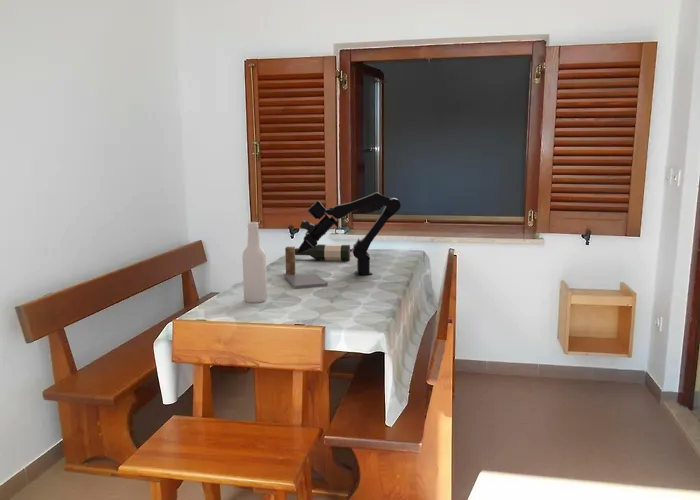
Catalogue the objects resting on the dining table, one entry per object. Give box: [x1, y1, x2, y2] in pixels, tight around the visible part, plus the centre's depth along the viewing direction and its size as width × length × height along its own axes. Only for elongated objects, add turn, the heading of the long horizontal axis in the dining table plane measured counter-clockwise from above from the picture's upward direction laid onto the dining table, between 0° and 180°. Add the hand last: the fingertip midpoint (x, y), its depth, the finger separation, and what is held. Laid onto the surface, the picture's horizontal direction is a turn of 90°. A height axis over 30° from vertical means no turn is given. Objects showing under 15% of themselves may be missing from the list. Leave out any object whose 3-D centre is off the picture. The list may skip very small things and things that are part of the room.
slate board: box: [284, 272, 328, 289], centre depth 247 cm, size 20×14×1 cm
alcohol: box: [241, 221, 268, 304], centre depth 216 cm, size 9×9×30 cm
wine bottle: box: [295, 243, 351, 262], centre depth 295 cm, size 8×8×30 cm
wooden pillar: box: [285, 246, 296, 275], centre depth 261 cm, size 4×4×12 cm
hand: (298, 250), depth 260 cm, fingers open, 9 cm apart
